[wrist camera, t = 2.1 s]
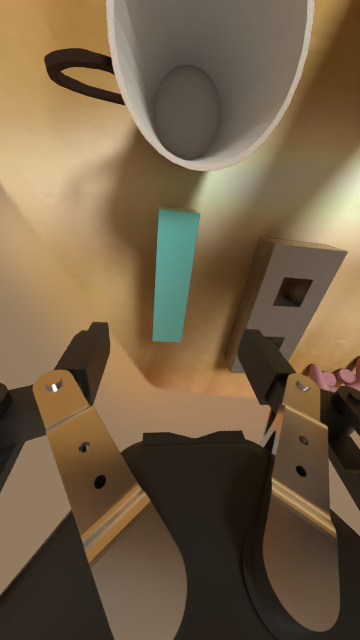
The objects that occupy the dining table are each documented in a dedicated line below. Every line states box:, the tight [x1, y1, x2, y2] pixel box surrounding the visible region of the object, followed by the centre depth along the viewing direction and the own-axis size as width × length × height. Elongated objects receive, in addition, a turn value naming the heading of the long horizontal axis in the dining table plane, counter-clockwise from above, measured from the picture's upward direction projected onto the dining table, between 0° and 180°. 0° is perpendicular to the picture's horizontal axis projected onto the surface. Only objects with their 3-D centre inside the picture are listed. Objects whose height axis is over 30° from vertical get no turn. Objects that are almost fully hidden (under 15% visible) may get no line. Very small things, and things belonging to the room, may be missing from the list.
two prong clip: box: [152, 206, 200, 342], centre depth 20 cm, size 12×3×7 cm, turn 174°
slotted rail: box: [225, 237, 348, 373], centre depth 26 cm, size 18×8×4 cm, turn 174°
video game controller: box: [309, 357, 360, 392], centre depth 34 cm, size 10×5×7 cm, turn 99°
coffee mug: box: [44, 0, 315, 171], centre depth 12 cm, size 12×9×10 cm
